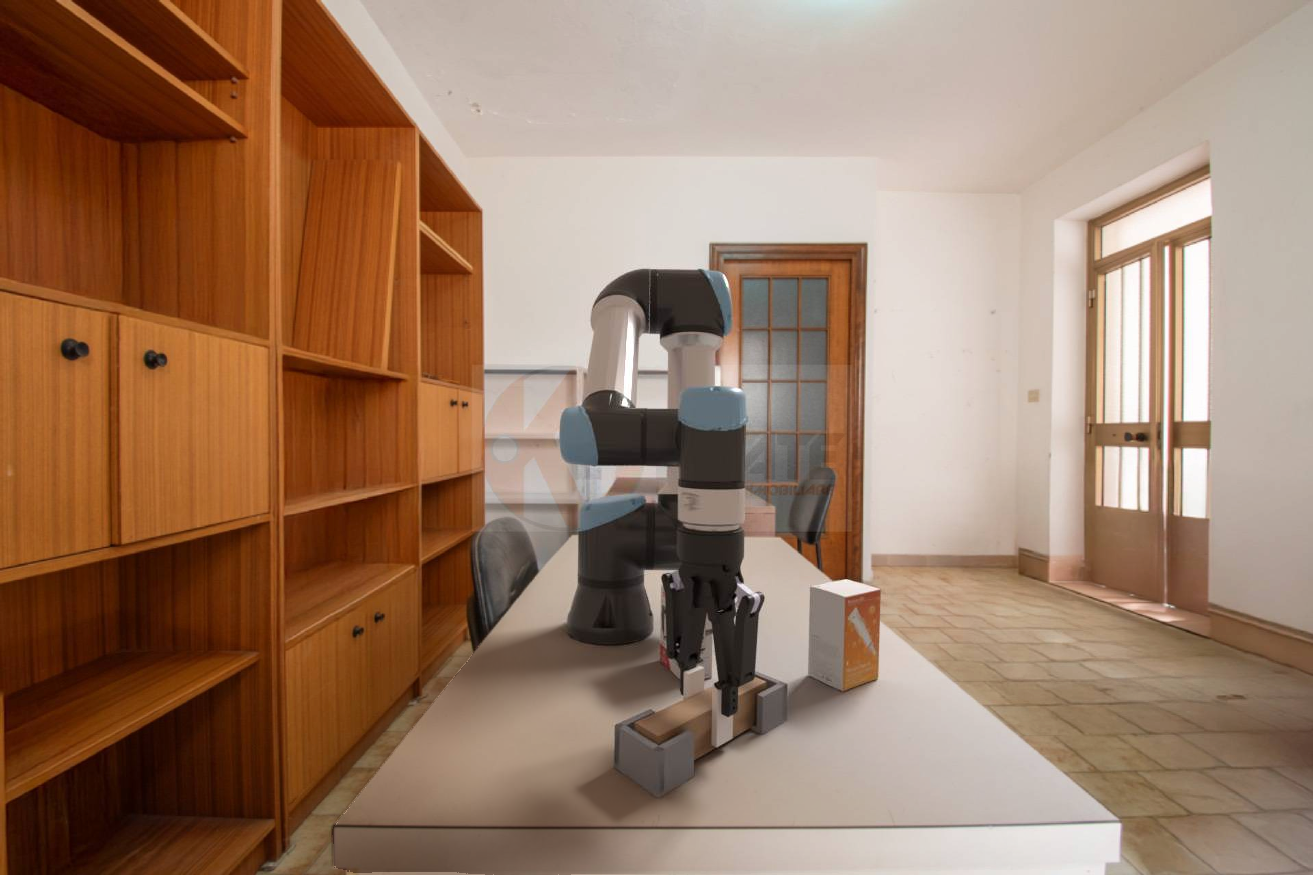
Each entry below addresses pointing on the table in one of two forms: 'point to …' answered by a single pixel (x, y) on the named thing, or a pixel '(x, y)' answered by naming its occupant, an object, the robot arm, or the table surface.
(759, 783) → the table surface
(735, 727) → the slat
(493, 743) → the table surface
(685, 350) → the robot arm
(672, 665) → the ink box
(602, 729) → the table surface
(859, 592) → the small box
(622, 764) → the endcap
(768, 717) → the endcap
